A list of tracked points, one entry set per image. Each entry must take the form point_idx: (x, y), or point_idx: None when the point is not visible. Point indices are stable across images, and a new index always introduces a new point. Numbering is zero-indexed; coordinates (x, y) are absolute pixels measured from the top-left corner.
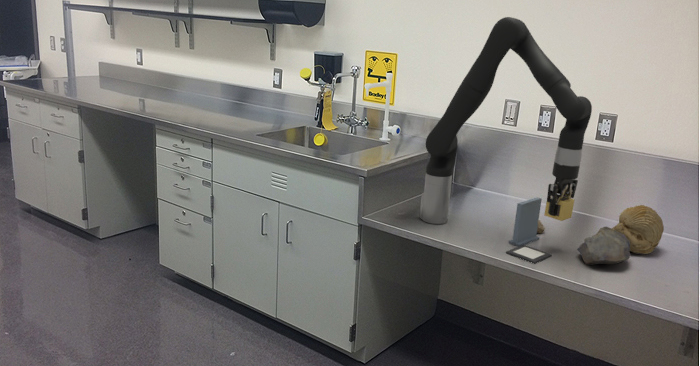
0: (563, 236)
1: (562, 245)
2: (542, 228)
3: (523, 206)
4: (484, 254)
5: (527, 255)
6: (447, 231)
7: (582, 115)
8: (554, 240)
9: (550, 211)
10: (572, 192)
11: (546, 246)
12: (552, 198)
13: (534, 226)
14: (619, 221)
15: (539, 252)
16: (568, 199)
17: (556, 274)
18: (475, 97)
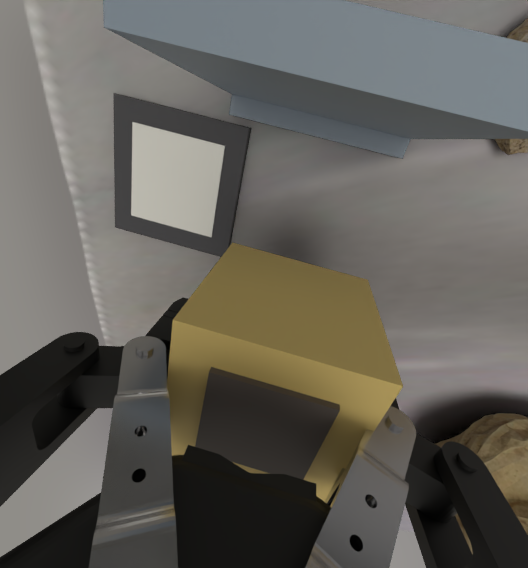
0: (510, 243)
1: (375, 263)
2: (522, 141)
3: (160, 45)
4: (30, 12)
5: (144, 187)
6: None
7: None
8: (423, 222)
9: (171, 311)
10: (426, 550)
11: (320, 213)
12: (128, 382)
13: (390, 129)
14: (525, 509)
15: (207, 216)
16: (286, 472)
17: (106, 297)
18: None
